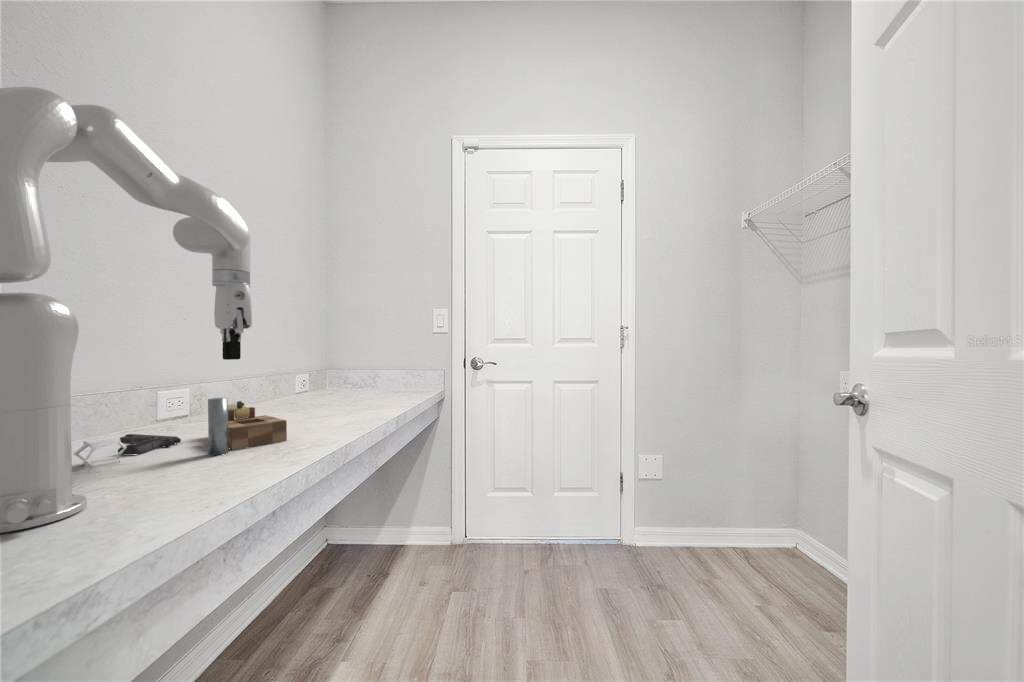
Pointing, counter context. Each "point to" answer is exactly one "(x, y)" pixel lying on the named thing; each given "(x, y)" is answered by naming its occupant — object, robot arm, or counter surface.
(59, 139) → the robot arm
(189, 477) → the counter surface
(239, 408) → the bar
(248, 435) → the dock
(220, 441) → the peg
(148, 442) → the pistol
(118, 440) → the white folding stand
